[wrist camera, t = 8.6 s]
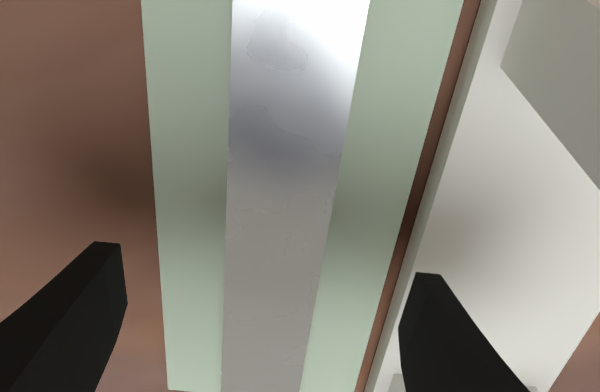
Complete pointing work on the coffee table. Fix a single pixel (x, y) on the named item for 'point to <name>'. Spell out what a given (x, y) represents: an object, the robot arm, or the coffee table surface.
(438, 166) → the rack
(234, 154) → the rail
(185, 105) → the mat
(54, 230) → the coffee table surface
